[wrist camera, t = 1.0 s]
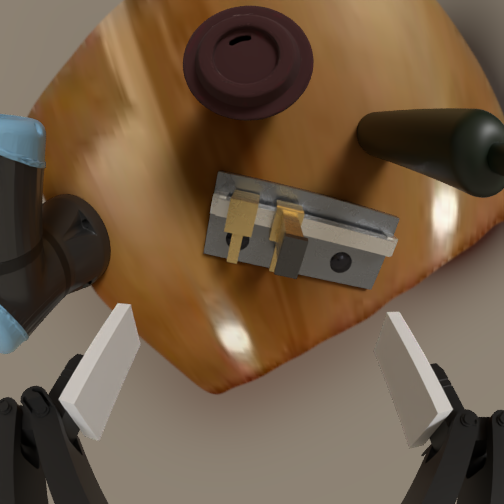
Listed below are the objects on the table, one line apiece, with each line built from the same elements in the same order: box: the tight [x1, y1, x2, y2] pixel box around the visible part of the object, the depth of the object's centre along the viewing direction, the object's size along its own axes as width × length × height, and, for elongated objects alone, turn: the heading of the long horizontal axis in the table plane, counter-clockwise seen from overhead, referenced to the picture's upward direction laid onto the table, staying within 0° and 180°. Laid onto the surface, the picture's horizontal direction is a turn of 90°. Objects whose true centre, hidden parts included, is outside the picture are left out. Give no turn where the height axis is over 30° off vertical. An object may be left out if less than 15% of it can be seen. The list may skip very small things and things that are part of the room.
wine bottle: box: [357, 109, 504, 198], centre depth 18 cm, size 6×6×30 cm
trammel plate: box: [204, 170, 399, 289], centre depth 35 cm, size 24×11×6 cm, turn 78°
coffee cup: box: [183, 6, 313, 120], centre depth 24 cm, size 10×10×15 cm
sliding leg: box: [269, 200, 309, 279], centre depth 31 cm, size 3×8×12 cm, turn 168°
